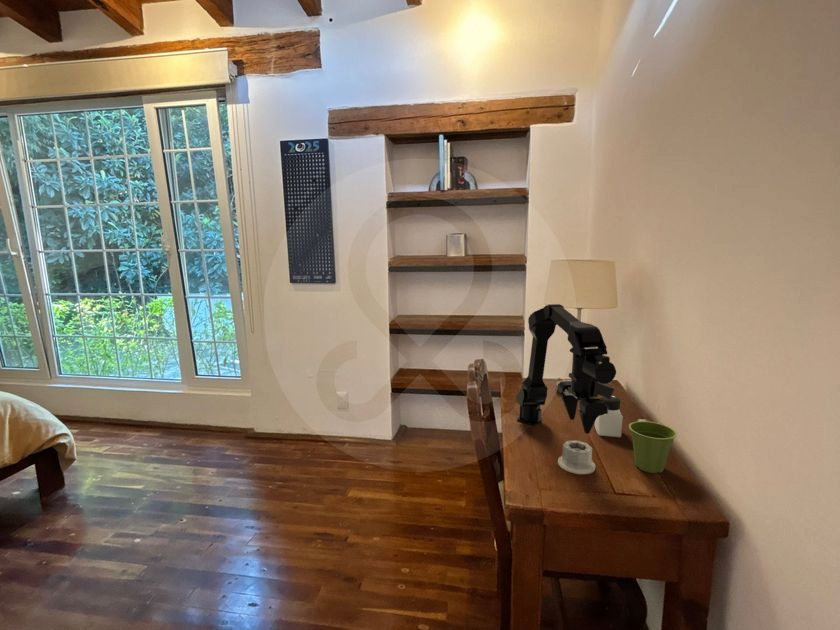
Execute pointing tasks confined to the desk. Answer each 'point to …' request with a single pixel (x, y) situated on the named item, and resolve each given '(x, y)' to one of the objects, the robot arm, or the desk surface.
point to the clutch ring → (577, 455)
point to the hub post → (585, 471)
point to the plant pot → (651, 444)
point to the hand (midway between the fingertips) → (579, 426)
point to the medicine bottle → (610, 419)
